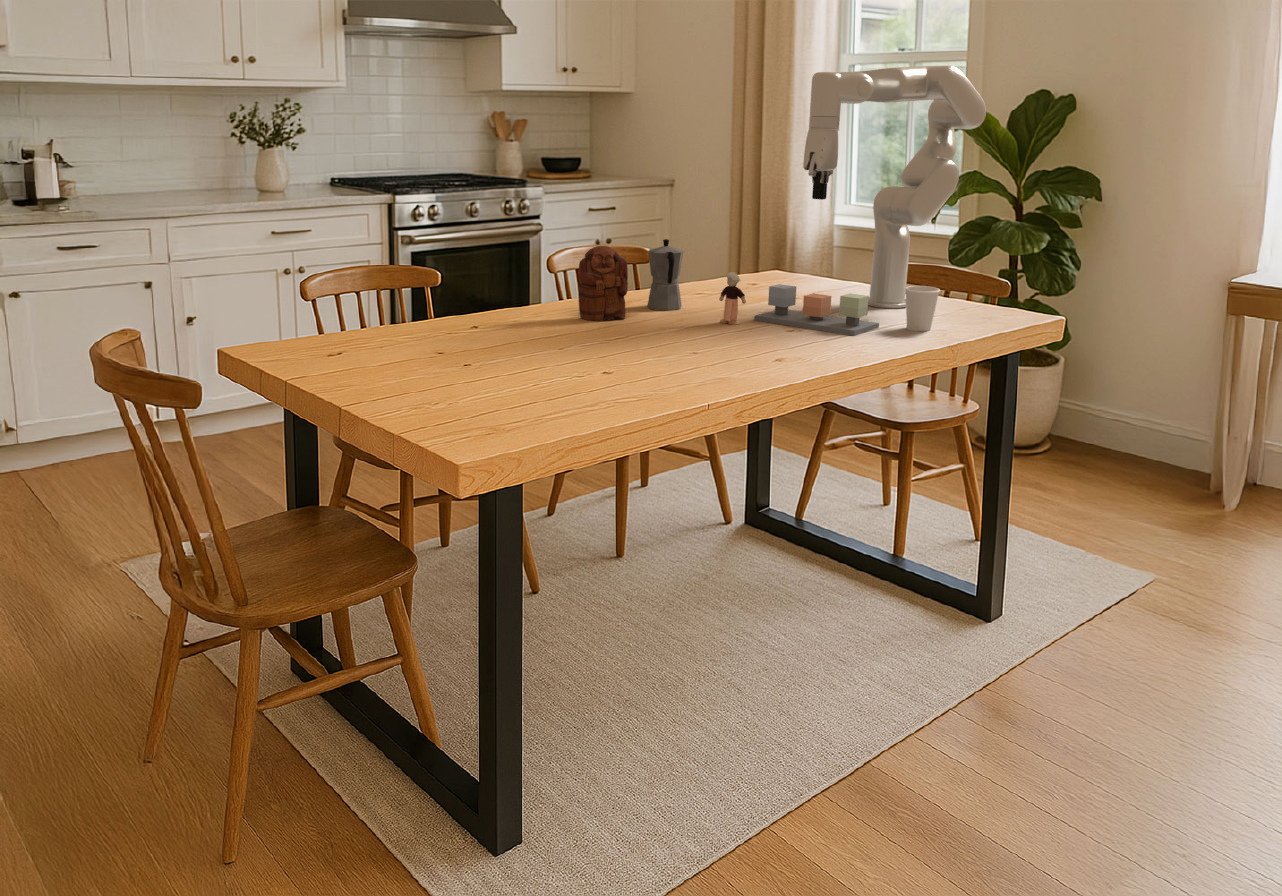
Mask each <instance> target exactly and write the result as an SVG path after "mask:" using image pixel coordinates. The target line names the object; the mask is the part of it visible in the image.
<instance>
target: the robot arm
mask: <svg viewBox="0 0 1282 896" xmlns="http://www.w3.org/2000/svg"><path fill="white" fill-rule="evenodd" d="M810 86H811V88H810V103H809V105H810V106H809V118H808V119H809V120H808V131H807V134H806V140H805V146H804V152H803V153H804V154H803V164H802V168H803V169H804V170H805V171H808V176H810V177H811V182H812V193H811V194H812V196H811V198H812V199H813V200H826V199H827V192H828V183H829V179H830V176H832V175H833V173H834V170H835V169H836V168H837V166H838V160H839V159H838V158H839V157H838V156H839V131H840V121H841V120H840V118H841V106H842V105H841V104H852V105H855V104H856V105H859V104H862V103H864V102H871V103H872V102H874V103H904V102H916V101H917V102H918V101H930V100H931V103H930V105H929V107H928V111H927V120H928V121H927V122H928V136H927V139H926V140H925V142H924V143H923V145H921V147H920V149H919V150H918V151H917V153H916V154H914V156H913V157H912V158H911V159H910V161H909V162H908V164H906V165H905V168H904V169H903V170H902V172H901V176H900V180H901V181H900V183H901V185H902V186H898V185H897V186H895V185H894V186H886V187H884V188H882V189H880V190H879V191H878V192H877V194H876V195H875V197H874V201H873V205H872V210H873V218H874V241H873V253H872V263H871V273H870V274H871V275H870V287H869V298H868V307H869V306H870V307H875V308H884V309H899V308H901V309H902V308H906V290H905V288H906V287H907V282H908V281H907V278H908V270H909V258H910V248H911V235H910V229H909V226H911V227H912V226H913V227H922V226H924V225H927V223H929V222H930V221H931V220H932V219H933V218H934V217H935V216H936V215H937V213H938V212H939V211H940V209H942V207H943V206H944V204H945V203H946V202H947V201H948V199H949V198H951V196H952V195H953V193H955V190H956V188H957V186H958V183H959V178H960V170H959V167H958V165H957V164H956V163H955V162H954V161H953V160H952V159H953V158H954V156H955V154H956V151H957V142H956V140H957V139H956V135H955V130H958V129H959V130H973V129H976V128H978V127H980V126H981V125H982V124H983V122H984V121H985V119H986V116H987V106H986V103H985V101H984V99H983V97H982V96H981V94H980V93H979V92H978V90H977V89H976V88H975V86H974V85H973V84H972V82H971V81H970V80H969V79H968V78H967V76H966V75H965V74H964V73H963V72H962V71H961V70H960V69H959V68H957V67H956V66H954V65H924V66H923V65H922V66H920V65H918V66H903V67H899V66H898V67H887V68H879V69H873V70H872V69H869V70H860V71H859V70H858V71H844V72H843V71H839V72H833V71H820V72H819V71H818V72H815V73H813V75H812V78H811V85H810ZM932 100H933V101H932Z"/></svg>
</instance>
